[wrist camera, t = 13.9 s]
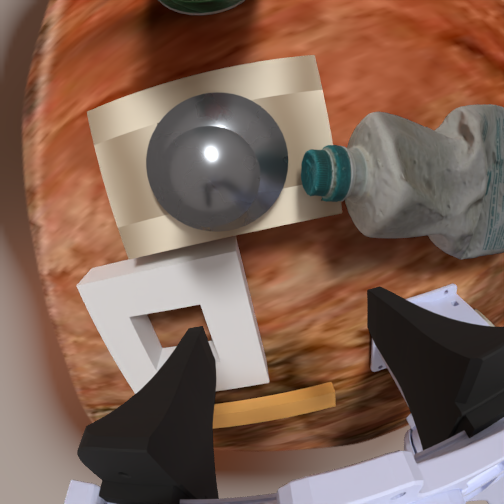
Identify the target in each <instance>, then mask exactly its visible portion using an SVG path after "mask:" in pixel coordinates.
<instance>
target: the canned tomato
mask: <svg viewBox="0 0 504 504" xmlns="http://www.w3.org/2000/svg"><path fill="white" fill-rule="evenodd" d="M158 1H159V2H160V3H161V4H162V5H164V6H165V7H167V8H169V9H170V10H173V11H175V12H178V13H182V14H187V15H210V14H216V13H220V12H224V11H226V10H229V9H232V8H234V7H236V6H238V5H239V4H241V3H243V2H244V1H245V0H158Z"/></svg>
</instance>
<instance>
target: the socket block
mask: <svg viewBox="0 0 504 504" xmlns="http://www.w3.org/2000/svg"><path fill="white" fill-rule="evenodd" d="M77 288H78V290H79V293H80V295H81V297H82V299H83V301H84V303H85V305H86V307H87V309H88V312H89V314H90V316H91V318H92V320H93V322H94V324H95V325H96V327H97V329H98V331H99V333H100V335H101V337H102V339H103V341H104V342H105V344H106V346H107V348H108V350H109V351H110V353H111V355H112V357H113V358H114V360H115V362H116V364H117V365H118V367H119V369H120V370H121V372H122V374H123V375H124V377H125V378H126V380H127V382H128V383H129V385H130V386H131V388H132V390H133V391H134V393H135V394H136V393H137V392H138V391H140V390H141V389H142V388H143V387H144V386H145V385H146V384H147V383H148V382H149V381H150V380H151V379H152V377H153V376H154V375H155V374H156V373H157V372H158V371H159V369H160V368H161V367H162V366H163V364H164V363H165V362H166V361H167V359H168V358H169V357H170V355H171V354H172V352H173V351H174V350H175V348H176V347H177V346H175V347H168V348H162V346H161V344H160V342H159V340H158V338H157V335H156V333H155V331H154V329H153V327H152V324H151V322H150V320H149V318H148V315H147V314H150V313H156V312H161V311H167V310H173V309H178V308H184V307H189V306H195V305H201V308H202V311H203V314H204V317H205V320H206V323H207V325H208V328H209V331H210V334H211V337H212V339H213V341H208V342H209V345H210V347H211V350H212V353H213V355H214V358H215V360H216V391H221V390H228V389H235V388H241V387H247V386H253V385H259V384H264V383H269V375H268V368H267V361H266V356H265V352H264V348H263V344H262V340H261V336H260V332H259V328H258V324H257V320H256V316H255V312H254V308H253V304H252V300H251V296H250V292H249V288H248V284H247V280H246V276H245V271H244V267H243V263H242V259H241V255H240V251H239V247H238V242H237V238H236V236H231V237H226V238H222V239H217V240H213V241H208V242H204V243H199V244H195V245H190V246H186V247H181V248H177V249H173V250H168V251H164V252H160V253H155V254H151V255H147V256H142V257H138V258H134V259H129V260H124V261H120V262H116V263H112V264H108V265H103V266H99V267H95V268H92V269H91V270H90V271H89V272H88V273H87V274H86V275H85V277H84V278H83V279H82V280H81V281H80V282H79V283H78V285H77Z"/></svg>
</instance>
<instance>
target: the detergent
mask: <svg viewBox="0 0 504 504" xmlns="http://www.w3.org/2000/svg"><path fill="white" fill-rule="evenodd" d="M301 180H302V186H303V188H304V190H305V192H306V193H307V195H309V196H322V199H321V201H326V202H328V201H329V202H338V201H344V200H345V203H346V206H347V209H348V213H349V215H350V216H351V218H352V221H353V223H354V224H355V226H356V227H357V228H358V230H359V231H360V232H361V233H362V234H364V235H365V236H367V237H373V238H410V237H419V236H427V235H428V236H429V238H430V240H431V241H432V242H433V243H434V244H435V245H436V246H437V247H438V248H440V249H441V250H442V251H444V252H445V253H447V254H449V255H451V256H454V257H456V258H458V259H468V258H476V257H479V256H484V255H492V254H498V253H503V252H504V107H500V106H497V105H491V104H489V105H468V106H462V107H459V108H456V109H455V110H453V111H452V112H451V113H449V114H448V115H447V116H446V118H445V119H444V121H443V123H442V124H441V125H440V126H439V127H438V128H437V129H436V130H435V131H433V130H431V129H429V128H427V127H424V126H422V125H419V124H417V123H415V122H412V121H410V120H408V119H405V118H402V117H400V116H396V115H392V114H389V113H385V112H374V113H370V114H368V115H367V116H366V117H365V118H364V119H363V120H362V121H361V122H360V123H359V124H358V125H357V127H356V128H355V130H354V132H353V134H352V135H351V137H350V140H349V143H348V146H347V148H346V147H344V146H337V145H327V146H325V147H324V148H323V149H322V150H314V149H310V150H308V151H306V152H305V154H304V156H303V160H302V163H301Z"/></svg>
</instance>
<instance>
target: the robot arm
mask: <svg viewBox="0 0 504 504" xmlns="http://www.w3.org/2000/svg"><path fill="white" fill-rule="evenodd" d="M456 292H457V286H456V285H455V284H450V285H447V286H444V287H442V288H439V289H436V290H433V291H430V292H427V293H423V294H420V295H417V296H414V297H411V298H408V299H404V298H402V297H400V296H398V295H396V294H394V293H392V292H390V291H388V290H386V289H384V288H382V287H376V288H373V289H369V290H367V298H368V329H369V332H370V334H371V336H372V350H371V370H372V371H373V372H376V371H379V370H382V369H385V368H387V369H388V370H389V372H390V374H391V376H392V378H393V379H394V381H395V383H396V385H397V387H398V388H399V390H400V392H401V394H402V396H403V398H404V399H405V401H406V403H407V405H408V407H409V409H410V411H411V414H410V415H409V416H408V417H407V418H406V419H407V421H408V423H409V425H410V427H411V429H409V430H408V431H407V432H406V434H405V437H404V451H400V450H398V451H395V452H391V453H387V454H383V455H381V456H378V457H375V458H372V459H369V460H366V461H362V462H359V463H356V464H352V465H349V466H345V467H342V468H338V469H334V470H330V471H326V472H322V473H318V474H313V475H309V476H306V477H302V478H299V479H295V480H292V481H290V482H288V483H286V484H285V485H283V486H281V487H280V488H279V489H278V491H277V493H273V494H266V495H258V496H249V497H238V498H224V499H219V498H218V491H217V483H216V474H215V463H214V449H213V415H214V404H215V393H216V360H215V358H214V355H213V353H212V350H211V347H210V345H209V342H208V339H207V337H206V334H205V331H204V328H203V326H200V327H194V328H189V329H188V331H187V332H186V333H185V335H184V336H183V338H182V339H181V341H180V342H179V344H178V345H177V347H176V348H175V350H174V351H173V352H172V354H171V355H170V357H169V358H168V359H167V361H166V362H165V363H164V364H163V366H162V367H161V368H160V369H159V371H158V372H157V373H156V374H155V375H154V376H153V377H152V379H151V380H150V381H149V382H148V383H147V384H146V385H145V386H144V387H143V388H142V389H141V390H140V391H138V392H137V393H136V394H135V395H134V396H132V397H131V398H130V399H129V400H128V401H127V402H125V403H124V404H123V405H121V406H120V407H118V408H117V409H115V410H114V411H112V412H111V413H109V414H108V415H106V416H105V417H103V418H101V419H99V420H97V421H95V422H94V423H92V424H90V425H88V426H86V429H85V431H84V434H83V437H82V440H81V443H80V445H79V448H78V456H79V458H80V460H81V461H82V462H83V464H84V465H85V466H87V467H88V468H89V469H90V470H91V471H92V472H93V473H94V474H96V475H97V476H98V477H99V478H100V479H102V484H101V487H100V486H98V485H96V484H92V483H88V482H82V481H77V480H71V482H70V485H69V488H68V492H67V495H66V499H65V502H64V504H466V502H467V501H476V500H486V501H487V503H488V504H504V327H493V326H490V325H489V324H488V323H487V322H486V321H485V320H484V319H483V318H482V317H481V316H480V315H479V314H478V313H477V312H476V311H475V310H474V309H472V308H471V307H470V306H469V305H468V304H467V303H466V302H465V301H464V300H463V299H462V298H461V297H459V296H458V295H457V294H456Z"/></svg>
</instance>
